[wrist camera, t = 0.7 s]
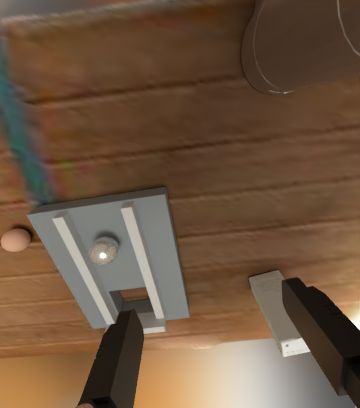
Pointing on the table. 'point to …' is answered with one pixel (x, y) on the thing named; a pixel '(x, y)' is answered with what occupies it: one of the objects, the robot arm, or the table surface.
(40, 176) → the table surface
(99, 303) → the slate board
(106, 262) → the steel ball
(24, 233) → the terracotta ball
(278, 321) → the skincare box
